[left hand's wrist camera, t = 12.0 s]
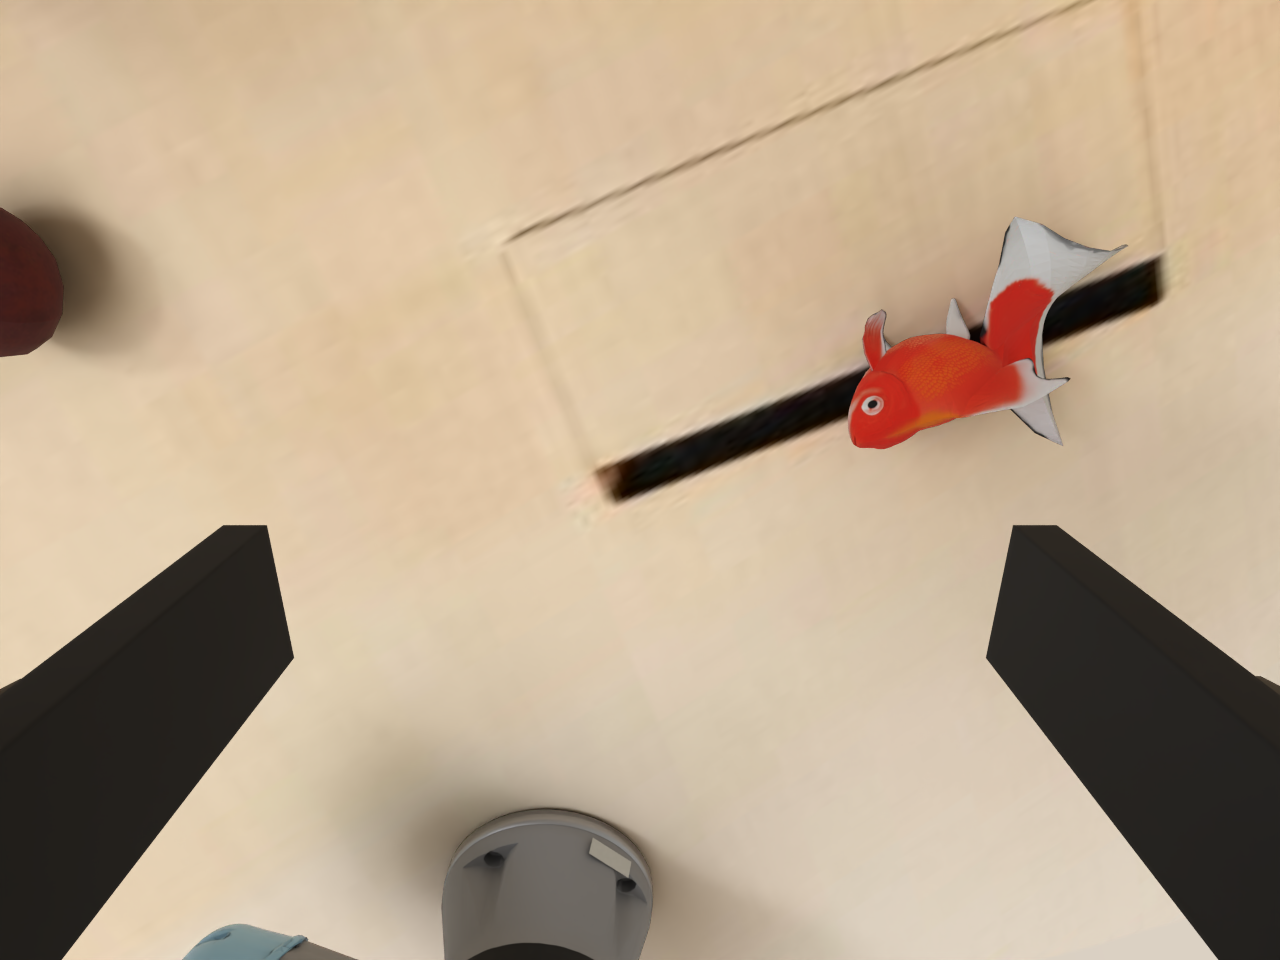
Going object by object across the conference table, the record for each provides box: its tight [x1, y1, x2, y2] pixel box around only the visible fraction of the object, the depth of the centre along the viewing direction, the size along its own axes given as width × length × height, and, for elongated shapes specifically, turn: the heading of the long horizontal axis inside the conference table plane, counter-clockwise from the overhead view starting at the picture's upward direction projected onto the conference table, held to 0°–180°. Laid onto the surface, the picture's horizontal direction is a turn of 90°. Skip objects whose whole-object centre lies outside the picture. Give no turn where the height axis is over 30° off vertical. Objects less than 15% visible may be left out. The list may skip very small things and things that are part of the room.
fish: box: [848, 217, 1128, 449], centre depth 35 cm, size 11×16×10 cm
